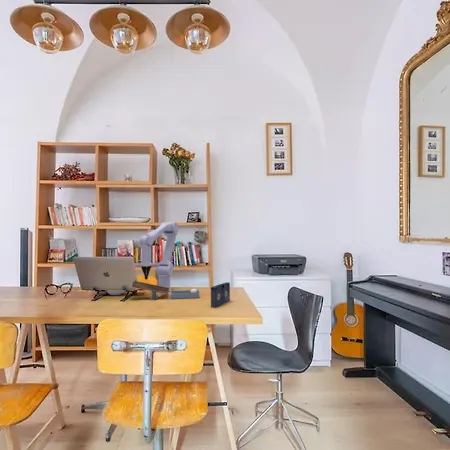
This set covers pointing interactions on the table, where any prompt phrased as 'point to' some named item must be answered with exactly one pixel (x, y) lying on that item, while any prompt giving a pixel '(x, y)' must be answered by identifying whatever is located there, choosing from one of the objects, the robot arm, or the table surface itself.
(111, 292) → the teacup
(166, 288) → the lever
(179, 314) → the table surface
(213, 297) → the vhs cassette tape
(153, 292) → the lever stand
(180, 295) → the bin
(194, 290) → the ball
